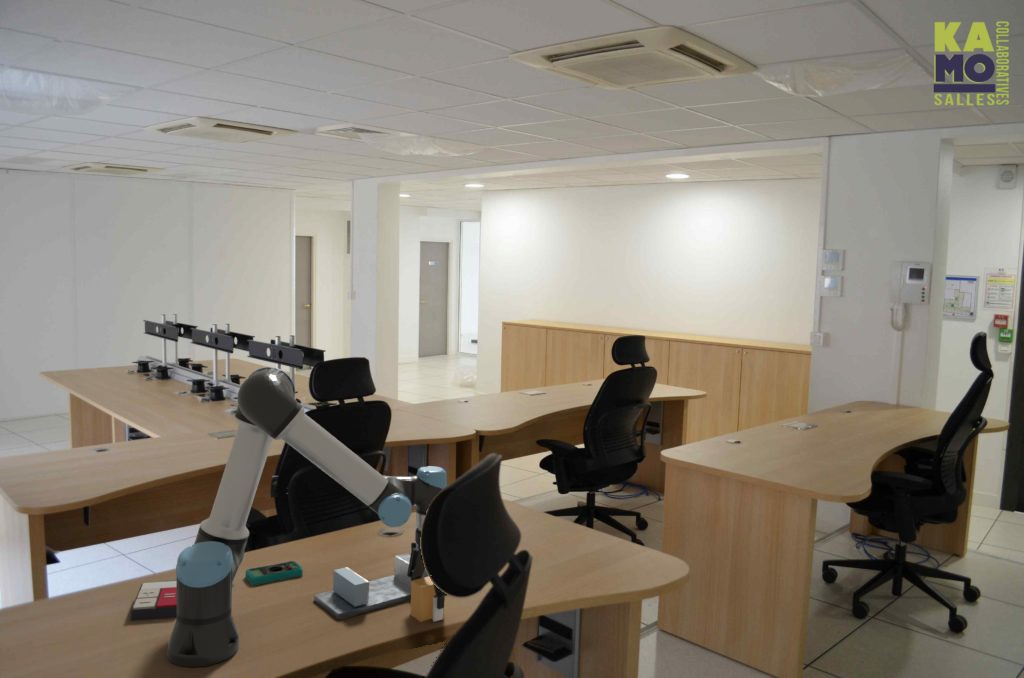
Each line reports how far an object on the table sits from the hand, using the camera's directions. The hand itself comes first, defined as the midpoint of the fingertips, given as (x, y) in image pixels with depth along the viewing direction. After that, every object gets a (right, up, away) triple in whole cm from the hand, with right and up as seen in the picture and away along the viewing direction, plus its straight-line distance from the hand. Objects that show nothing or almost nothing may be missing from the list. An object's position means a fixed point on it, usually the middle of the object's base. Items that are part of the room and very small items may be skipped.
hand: (427, 612), depth 195 cm
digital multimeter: (-46, +2, +20) cm, 50 cm away
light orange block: (0, -1, 0) cm, 1 cm away
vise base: (-15, +1, +9) cm, 18 cm away
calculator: (-68, +2, -2) cm, 68 cm away
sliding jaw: (-21, +3, +5) cm, 21 cm away
